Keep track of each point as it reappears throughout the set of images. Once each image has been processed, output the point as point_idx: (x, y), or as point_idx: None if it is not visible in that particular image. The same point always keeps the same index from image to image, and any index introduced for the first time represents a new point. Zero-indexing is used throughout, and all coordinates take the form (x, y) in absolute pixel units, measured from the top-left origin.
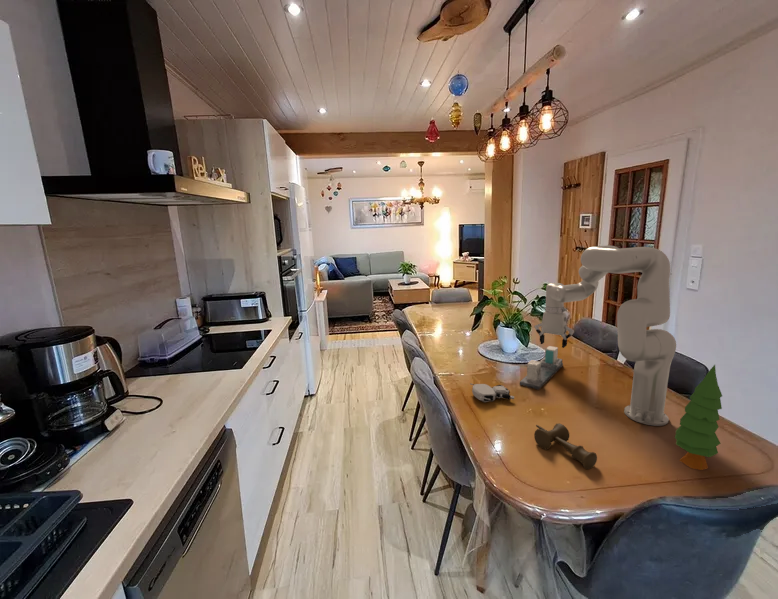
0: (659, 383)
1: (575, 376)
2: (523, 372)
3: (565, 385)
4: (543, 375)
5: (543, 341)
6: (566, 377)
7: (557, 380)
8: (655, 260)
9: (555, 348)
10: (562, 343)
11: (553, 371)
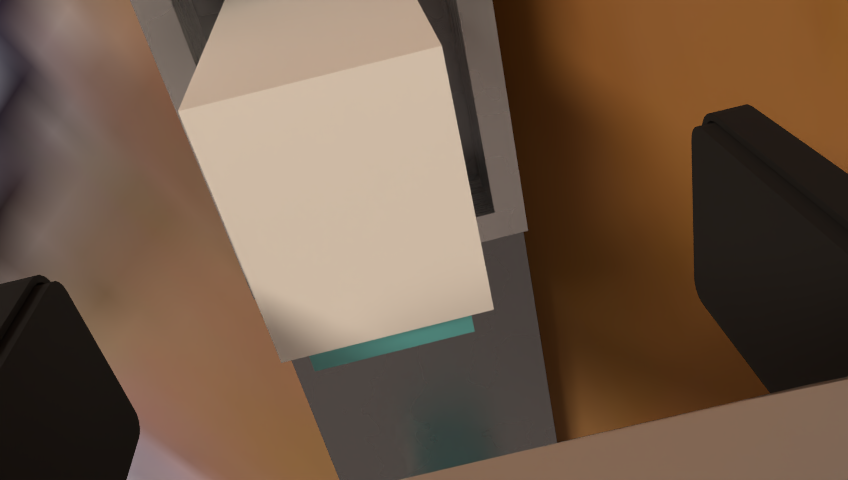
0: None
1: (754, 93)
2: (234, 456)
3: (726, 382)
4: (495, 451)
5: (76, 376)
6: (670, 210)
7: (619, 350)
8: None
9: (435, 170)
10: (766, 373)
11: (523, 286)
